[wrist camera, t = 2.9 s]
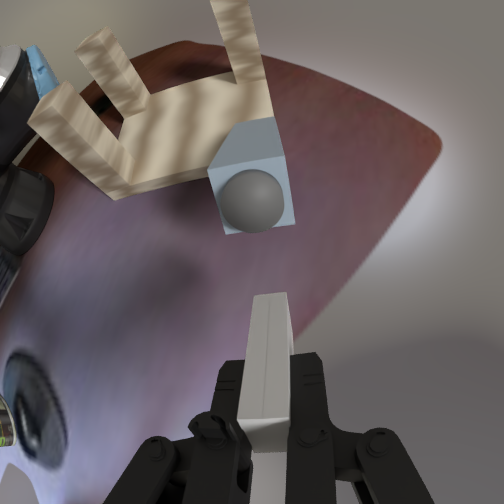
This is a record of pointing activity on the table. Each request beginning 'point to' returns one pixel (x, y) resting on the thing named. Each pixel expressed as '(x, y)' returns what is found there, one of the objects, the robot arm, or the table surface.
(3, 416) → the coffee can
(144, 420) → the table surface
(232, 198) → the pale blue upright post
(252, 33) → the upturned stool
